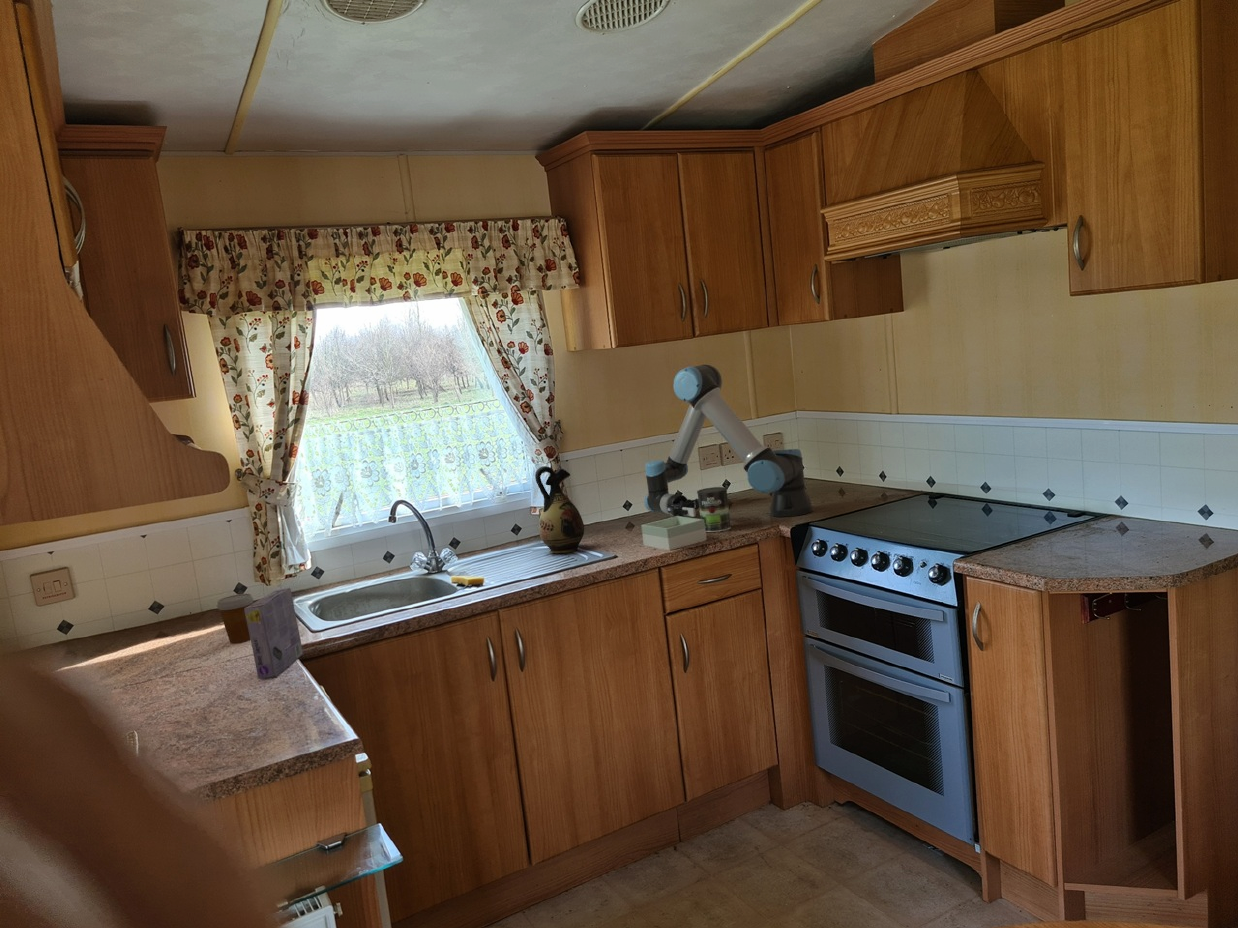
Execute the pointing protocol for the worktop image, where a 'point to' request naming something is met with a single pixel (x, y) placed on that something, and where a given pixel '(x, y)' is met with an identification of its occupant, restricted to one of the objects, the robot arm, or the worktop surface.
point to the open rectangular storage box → (673, 532)
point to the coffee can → (714, 509)
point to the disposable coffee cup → (235, 616)
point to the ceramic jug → (558, 514)
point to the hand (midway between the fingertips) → (710, 508)
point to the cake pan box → (273, 633)
